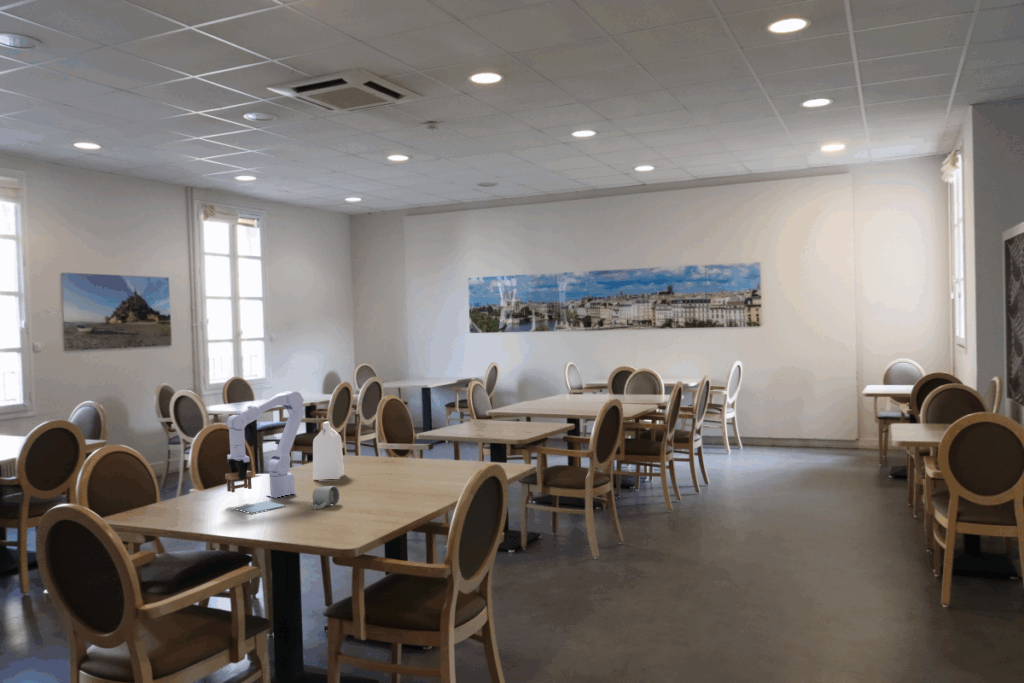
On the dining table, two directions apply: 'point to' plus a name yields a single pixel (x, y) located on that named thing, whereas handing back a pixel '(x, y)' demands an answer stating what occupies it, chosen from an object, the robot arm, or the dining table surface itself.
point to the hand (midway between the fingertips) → (239, 478)
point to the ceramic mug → (325, 496)
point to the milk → (327, 454)
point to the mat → (259, 507)
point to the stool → (235, 475)
